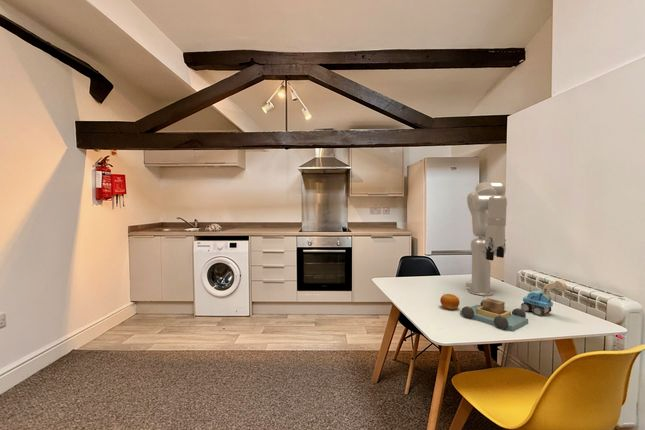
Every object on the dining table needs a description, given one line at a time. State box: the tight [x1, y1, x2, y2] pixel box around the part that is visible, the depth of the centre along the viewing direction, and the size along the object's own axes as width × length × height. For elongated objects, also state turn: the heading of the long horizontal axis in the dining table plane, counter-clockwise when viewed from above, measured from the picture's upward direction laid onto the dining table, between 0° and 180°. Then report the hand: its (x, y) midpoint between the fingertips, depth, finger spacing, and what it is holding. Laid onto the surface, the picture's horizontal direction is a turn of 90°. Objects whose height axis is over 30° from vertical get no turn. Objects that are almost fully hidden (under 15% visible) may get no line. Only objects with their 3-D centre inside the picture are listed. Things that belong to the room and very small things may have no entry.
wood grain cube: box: [482, 297, 505, 315], centre depth 134 cm, size 7×5×6 cm
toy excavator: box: [520, 279, 568, 317], centre depth 140 cm, size 9×17×17 cm, turn 27°
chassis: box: [459, 300, 529, 332], centre depth 134 cm, size 22×18×5 cm
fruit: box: [440, 293, 460, 310], centre depth 148 cm, size 8×8×8 cm
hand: (494, 258), depth 142 cm, fingers open, 9 cm apart
